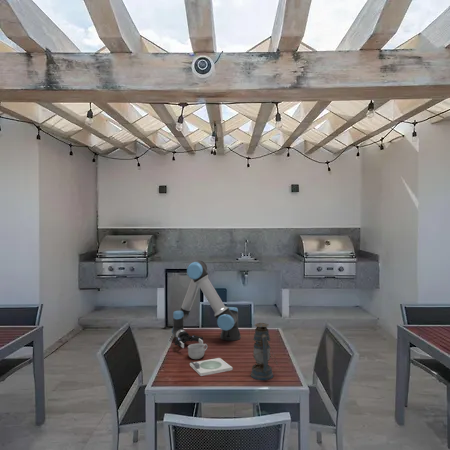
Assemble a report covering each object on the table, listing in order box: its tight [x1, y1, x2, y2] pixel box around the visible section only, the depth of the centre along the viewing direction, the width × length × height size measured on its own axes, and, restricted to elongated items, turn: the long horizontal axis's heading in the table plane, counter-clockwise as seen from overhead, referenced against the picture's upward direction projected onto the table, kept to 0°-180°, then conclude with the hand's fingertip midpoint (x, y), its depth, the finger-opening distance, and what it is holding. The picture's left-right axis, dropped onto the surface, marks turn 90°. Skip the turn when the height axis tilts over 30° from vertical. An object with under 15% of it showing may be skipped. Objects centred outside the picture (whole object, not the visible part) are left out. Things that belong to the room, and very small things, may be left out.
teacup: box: [187, 343, 208, 360], centre depth 247 cm, size 14×11×8 cm
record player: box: [189, 357, 233, 377], centre depth 229 cm, size 20×18×4 cm
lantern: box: [250, 322, 279, 381], centre depth 216 cm, size 19×14×30 cm
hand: (193, 344), depth 254 cm, fingers open, 13 cm apart
